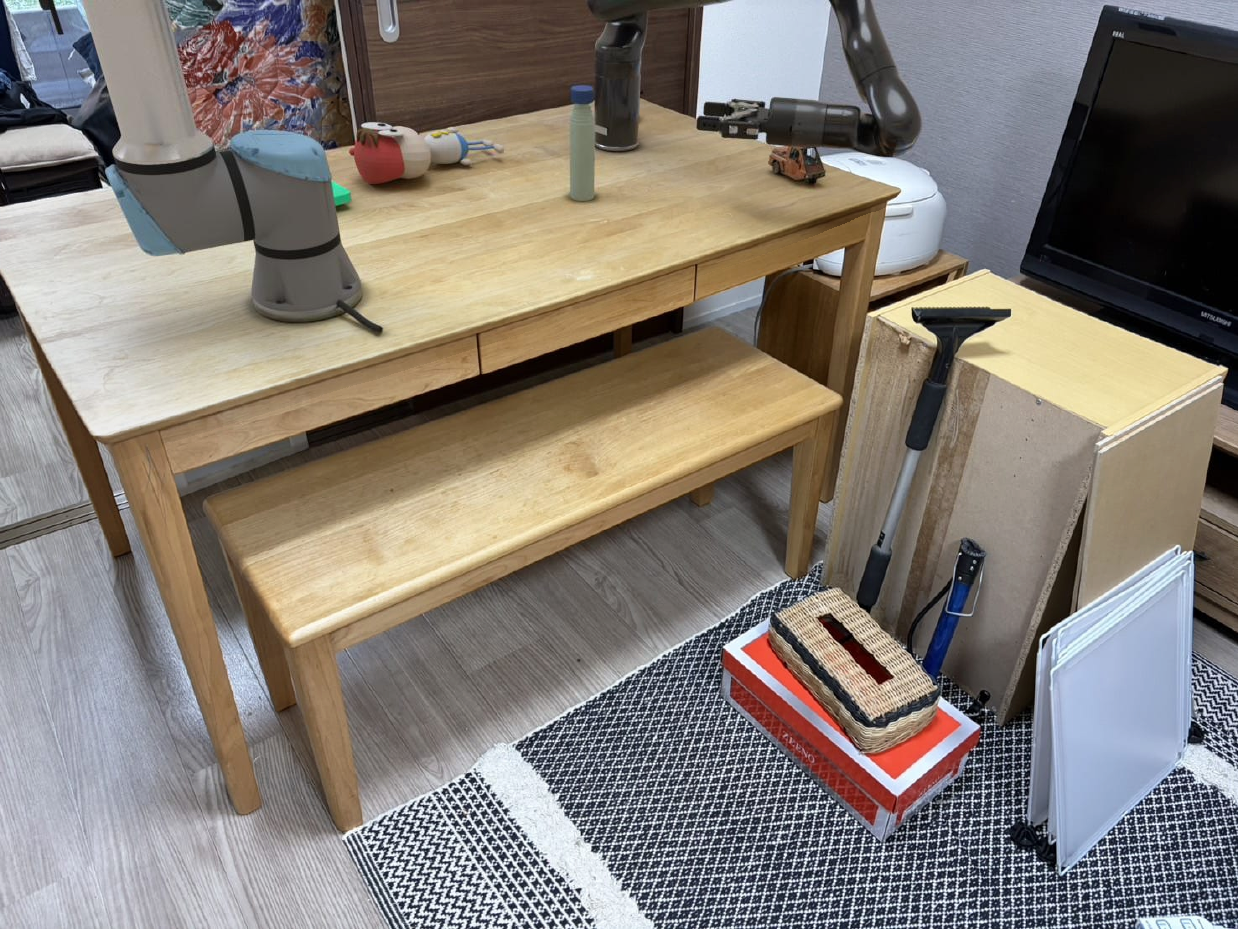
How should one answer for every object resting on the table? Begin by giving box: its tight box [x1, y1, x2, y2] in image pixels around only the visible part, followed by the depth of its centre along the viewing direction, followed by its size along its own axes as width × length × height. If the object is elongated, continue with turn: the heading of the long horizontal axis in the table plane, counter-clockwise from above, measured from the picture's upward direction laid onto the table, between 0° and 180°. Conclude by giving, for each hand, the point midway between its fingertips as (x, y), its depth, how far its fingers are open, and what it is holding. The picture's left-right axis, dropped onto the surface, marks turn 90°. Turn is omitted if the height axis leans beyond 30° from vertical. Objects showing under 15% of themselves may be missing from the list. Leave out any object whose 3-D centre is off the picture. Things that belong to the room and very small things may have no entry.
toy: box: [348, 121, 505, 185], centre depth 177 cm, size 18×10×30 cm
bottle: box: [569, 103, 596, 202], centre depth 164 cm, size 4×4×19 cm
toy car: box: [767, 146, 827, 186], centre depth 178 cm, size 6×12×7 cm, turn 39°
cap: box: [570, 84, 595, 105], centre depth 159 cm, size 4×4×2 cm
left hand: (108, 29), depth 146 cm, fingers open, 13 cm apart
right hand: (700, 115), depth 157 cm, fingers open, 8 cm apart
